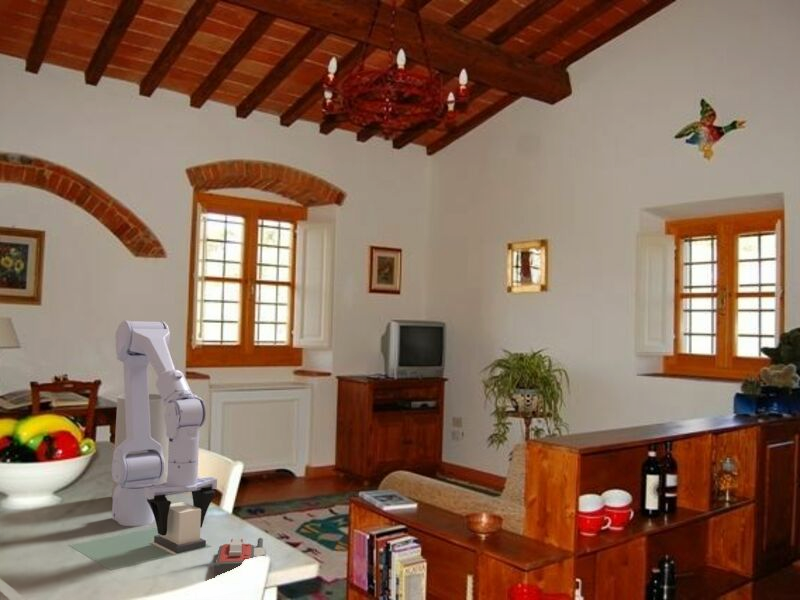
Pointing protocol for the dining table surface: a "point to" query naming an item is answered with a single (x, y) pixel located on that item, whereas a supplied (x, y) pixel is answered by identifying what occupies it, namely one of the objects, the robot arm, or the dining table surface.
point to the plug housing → (183, 523)
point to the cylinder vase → (155, 428)
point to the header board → (134, 548)
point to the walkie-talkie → (236, 554)
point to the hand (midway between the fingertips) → (180, 530)
